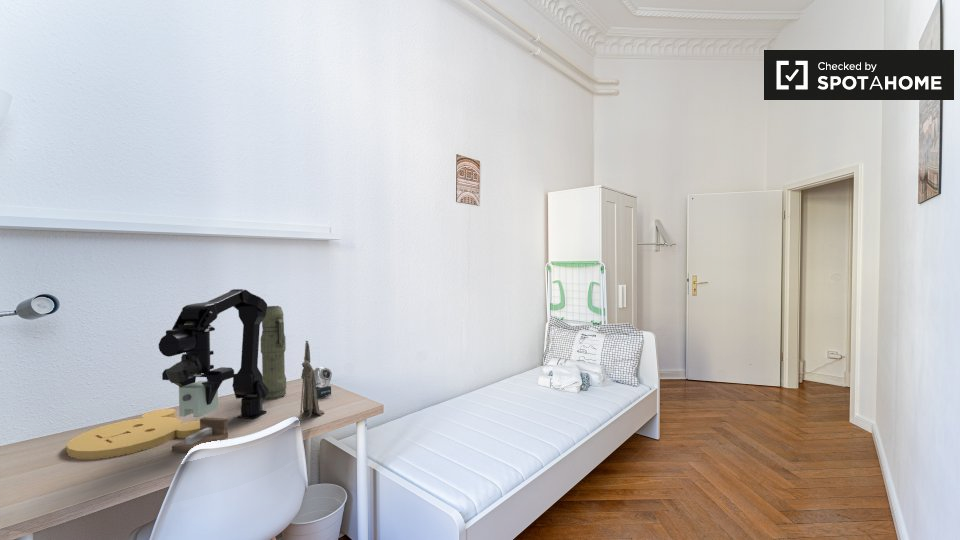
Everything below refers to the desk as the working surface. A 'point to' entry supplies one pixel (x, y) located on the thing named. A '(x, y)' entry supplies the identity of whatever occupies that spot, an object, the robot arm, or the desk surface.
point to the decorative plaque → (131, 435)
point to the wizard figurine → (309, 387)
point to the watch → (326, 378)
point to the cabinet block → (195, 400)
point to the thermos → (273, 352)
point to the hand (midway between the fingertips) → (199, 403)
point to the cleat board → (204, 424)
